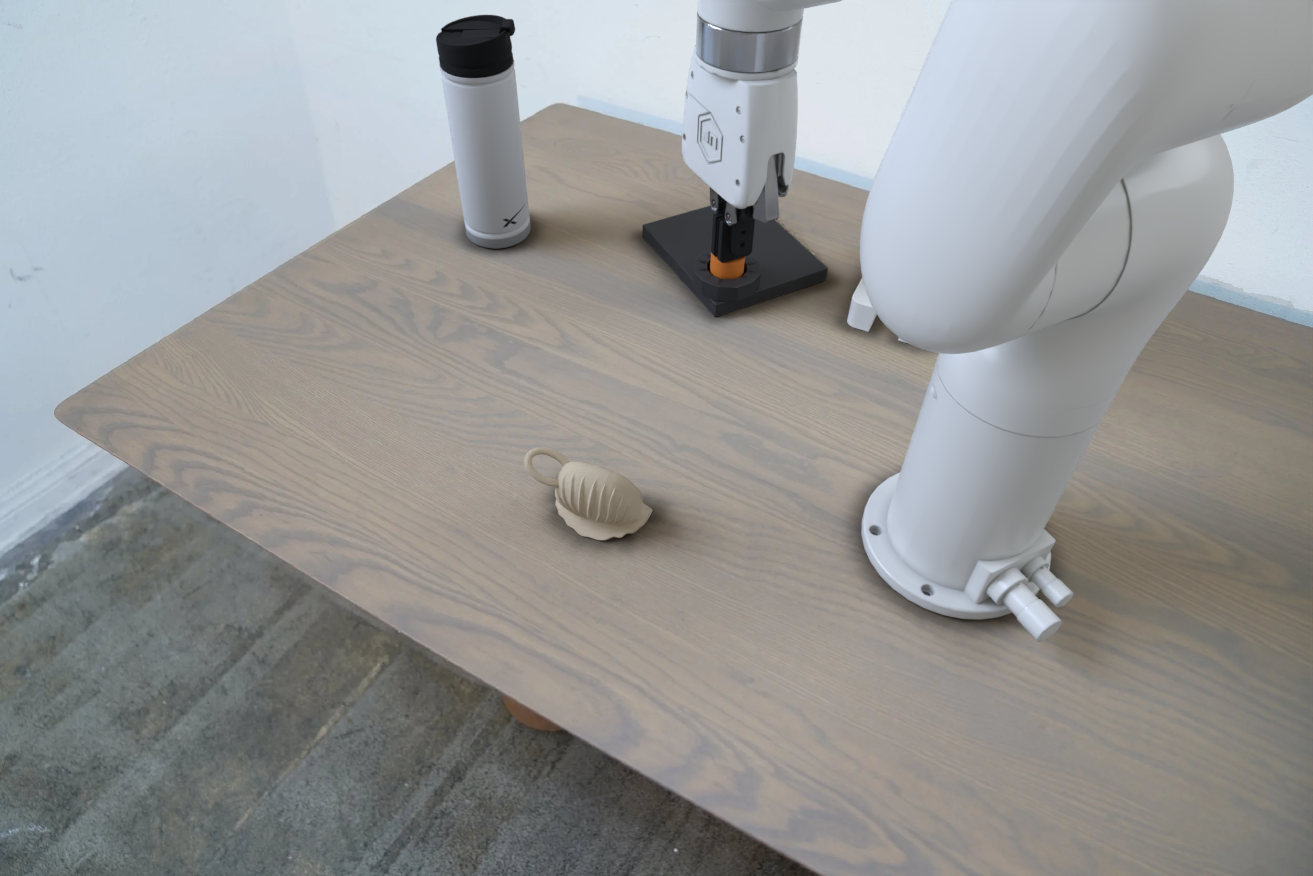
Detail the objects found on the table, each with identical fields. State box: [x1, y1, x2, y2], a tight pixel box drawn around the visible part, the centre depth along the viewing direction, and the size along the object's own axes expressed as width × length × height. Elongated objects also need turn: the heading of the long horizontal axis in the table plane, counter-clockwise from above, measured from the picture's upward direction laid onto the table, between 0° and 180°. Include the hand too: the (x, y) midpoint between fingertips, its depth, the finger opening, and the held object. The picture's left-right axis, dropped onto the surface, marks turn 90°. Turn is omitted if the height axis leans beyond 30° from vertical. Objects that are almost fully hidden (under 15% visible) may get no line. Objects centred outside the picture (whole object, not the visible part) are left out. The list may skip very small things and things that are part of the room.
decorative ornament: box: [523, 446, 654, 542], centre depth 62 cm, size 4×8×5 cm, turn 66°
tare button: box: [710, 253, 745, 279], centre depth 79 cm, size 3×3×2 cm
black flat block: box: [641, 205, 829, 318], centre depth 84 cm, size 14×12×3 cm
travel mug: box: [435, 14, 531, 249], centre depth 81 cm, size 6×7×20 cm
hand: (731, 254), depth 78 cm, fingers closed
